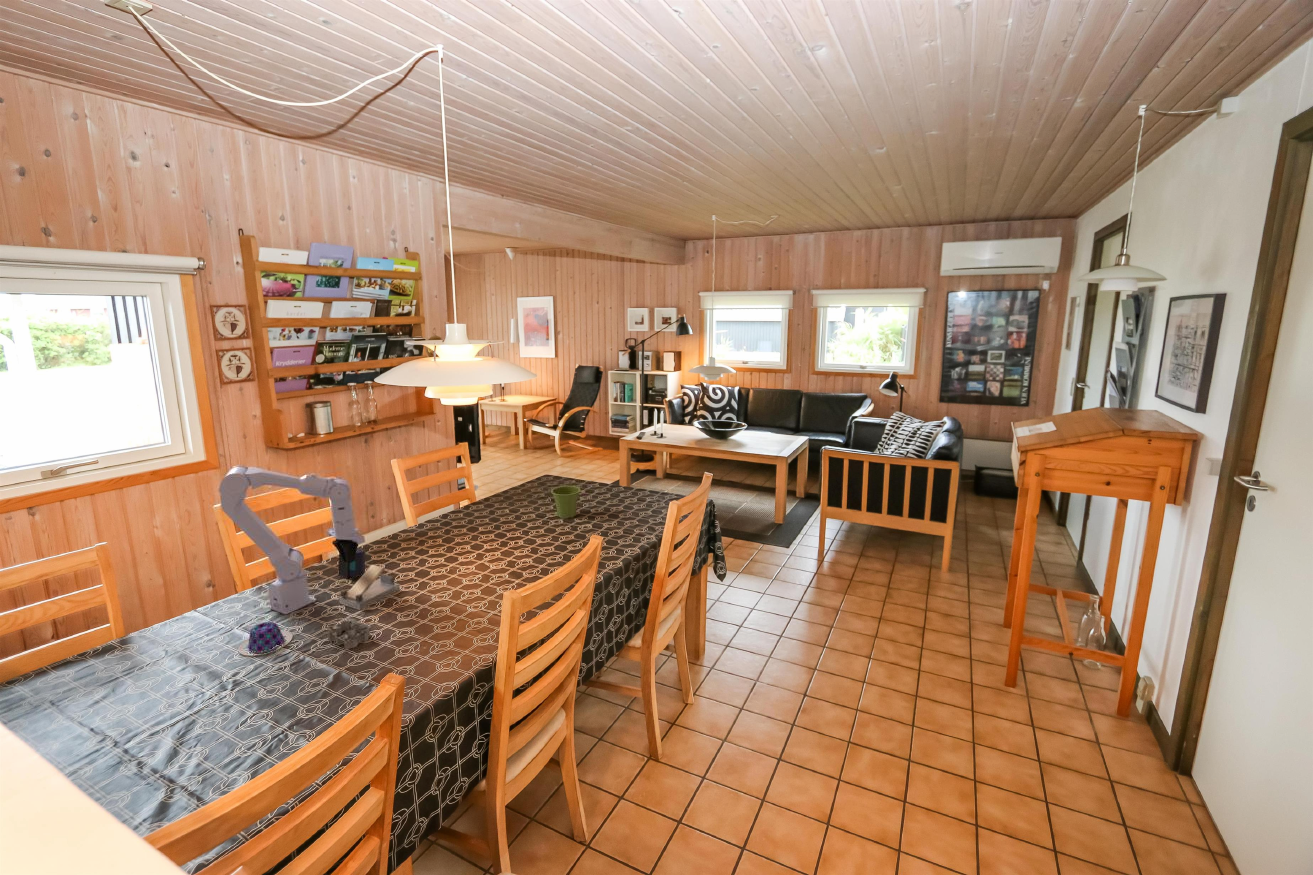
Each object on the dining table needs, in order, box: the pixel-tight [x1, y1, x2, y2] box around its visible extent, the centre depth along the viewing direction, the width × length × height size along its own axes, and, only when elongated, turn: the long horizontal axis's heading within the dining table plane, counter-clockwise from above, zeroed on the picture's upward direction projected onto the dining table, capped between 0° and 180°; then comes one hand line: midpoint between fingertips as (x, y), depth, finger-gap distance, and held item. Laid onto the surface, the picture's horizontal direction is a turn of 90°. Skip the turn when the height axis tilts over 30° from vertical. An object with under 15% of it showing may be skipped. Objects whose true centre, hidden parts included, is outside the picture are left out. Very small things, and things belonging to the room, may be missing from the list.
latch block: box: [338, 573, 401, 611], centre depth 183 cm, size 14×9×4 cm, turn 153°
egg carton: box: [324, 617, 372, 649], centre depth 161 cm, size 11×8×4 cm
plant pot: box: [550, 485, 581, 519], centre depth 251 cm, size 12×12×11 cm
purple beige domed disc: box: [238, 621, 293, 657], centre depth 158 cm, size 12×12×5 cm
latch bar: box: [345, 564, 385, 600], centre depth 181 cm, size 12×5×1 cm
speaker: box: [338, 547, 367, 581], centre depth 197 cm, size 8×6×10 cm
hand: (349, 561), depth 184 cm, fingers closed
